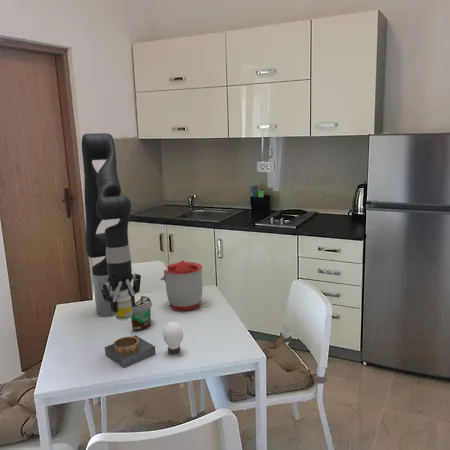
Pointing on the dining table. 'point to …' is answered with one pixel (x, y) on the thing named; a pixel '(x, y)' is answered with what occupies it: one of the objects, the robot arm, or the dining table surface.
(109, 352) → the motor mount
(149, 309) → the food container
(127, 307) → the supplement bottle
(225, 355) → the dining table surface
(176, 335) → the light bulb
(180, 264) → the citrus juicer
